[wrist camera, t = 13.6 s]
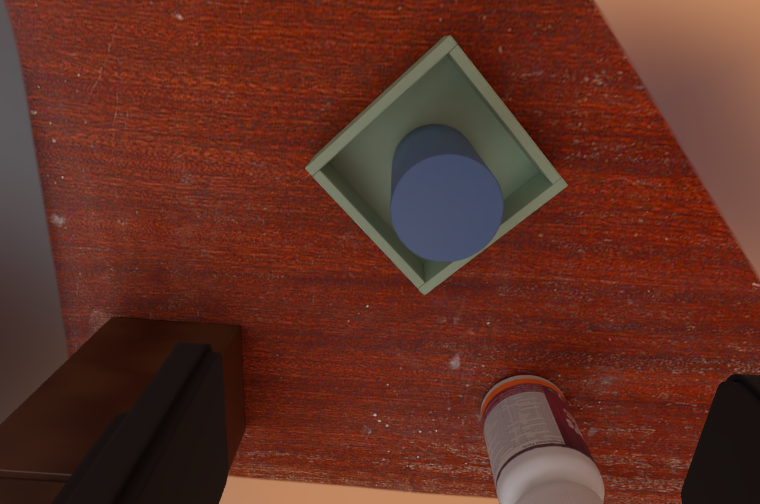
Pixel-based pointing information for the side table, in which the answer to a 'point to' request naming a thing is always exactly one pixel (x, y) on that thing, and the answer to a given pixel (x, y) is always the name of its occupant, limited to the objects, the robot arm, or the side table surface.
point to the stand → (103, 401)
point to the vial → (443, 195)
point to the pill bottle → (537, 445)
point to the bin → (418, 108)
